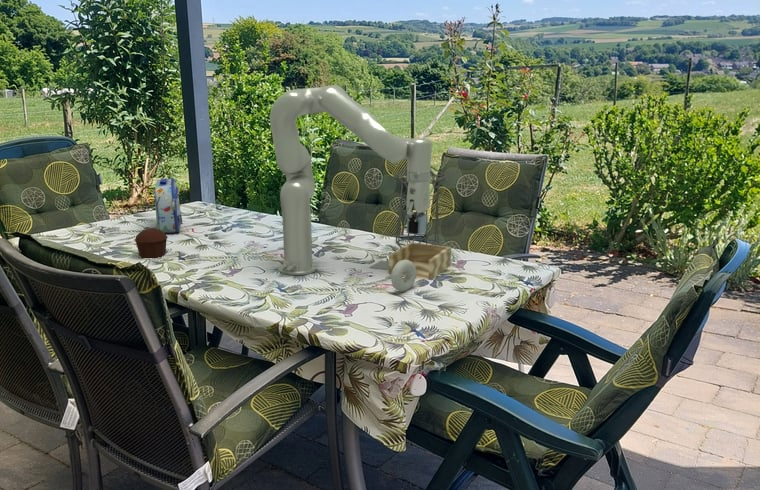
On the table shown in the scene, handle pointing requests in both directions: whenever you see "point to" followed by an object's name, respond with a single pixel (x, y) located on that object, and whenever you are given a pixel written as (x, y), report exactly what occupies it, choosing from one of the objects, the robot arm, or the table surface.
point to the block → (419, 223)
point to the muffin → (151, 243)
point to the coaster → (381, 265)
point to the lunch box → (167, 206)
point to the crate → (423, 259)
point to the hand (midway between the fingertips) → (416, 230)
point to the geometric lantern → (426, 210)
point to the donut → (398, 272)
